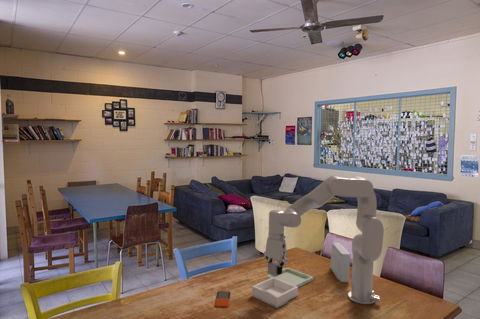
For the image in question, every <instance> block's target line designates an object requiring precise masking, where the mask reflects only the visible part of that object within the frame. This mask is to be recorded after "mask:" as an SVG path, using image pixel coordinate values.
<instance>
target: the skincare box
mask: <svg viewBox="0 0 480 319" xmlns="http://www.w3.org/2000/svg"><path fill="white" fill-rule="evenodd" d="M329 267H330V270H331V271H332V272H333V274H334V275H335V277H336V279H337V280H338V281H340V283H349V281H350V267H351V253H350V252H349V251H348V250H347V248H345V247H344V246H343V244H342V243H341V242H331V253H330V265H329Z"/></svg>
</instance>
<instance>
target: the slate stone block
mask: <svg viewBox="0 0 480 319" xmlns="http://www.w3.org/2000/svg"><path fill="white" fill-rule="evenodd" d="M277 267H278V262H277V260H273V261H272V262H270V263H267V274H268V275H270V274H271V275H273V276H278V275H277ZM279 275H280V274H279Z"/></svg>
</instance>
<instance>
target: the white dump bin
mask: <svg viewBox="0 0 480 319" xmlns="http://www.w3.org/2000/svg"><path fill="white" fill-rule="evenodd" d="M251 296H252V297H253V298H256V299H257V300H260V301H261V302H263V303H266V304H267V305H270V306H272V307H274V308H276V309H279V308H281V307H282V306H284V305H285V304H288V303H289V302H290V301H291V300H292V299H294V298H296V297H298V296H299V288H298V287H297V286H294V285H292V284H289V283H287V282H284V281H282V280H280V279H277V278H275V277H272V278H270V279H267V278H266V279H265V280H263V281H260V282H259V283H256V284H254V285H252V287H251Z"/></svg>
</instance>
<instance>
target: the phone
mask: <svg viewBox="0 0 480 319" xmlns="http://www.w3.org/2000/svg"><path fill="white" fill-rule="evenodd" d="M230 299H231V291H224V290H219V291H217V293H216V298H215V302H214V306H213V307H214V308H227V309H228V308H229V305H230Z"/></svg>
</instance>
